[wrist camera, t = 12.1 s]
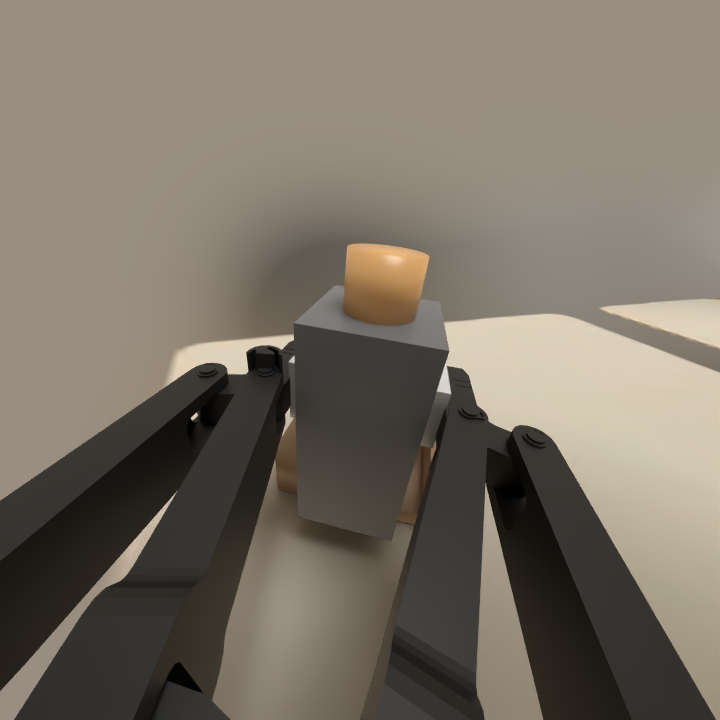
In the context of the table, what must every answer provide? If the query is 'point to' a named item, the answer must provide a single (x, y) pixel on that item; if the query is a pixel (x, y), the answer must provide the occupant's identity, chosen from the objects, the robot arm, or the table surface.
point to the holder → (414, 492)
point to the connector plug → (365, 389)
